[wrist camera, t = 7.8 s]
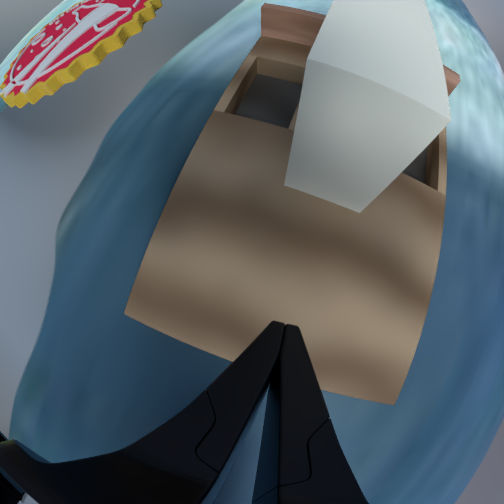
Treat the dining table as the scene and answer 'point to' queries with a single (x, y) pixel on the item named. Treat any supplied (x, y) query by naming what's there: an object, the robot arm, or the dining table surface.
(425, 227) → the trap deck
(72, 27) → the decorative sign
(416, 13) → the light gray block
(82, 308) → the dining table surface
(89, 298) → the dining table surface
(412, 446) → the dining table surface
